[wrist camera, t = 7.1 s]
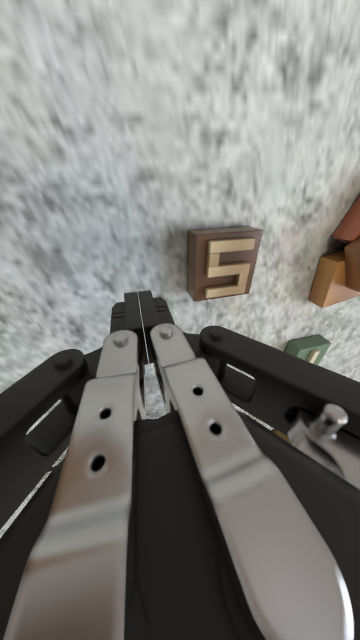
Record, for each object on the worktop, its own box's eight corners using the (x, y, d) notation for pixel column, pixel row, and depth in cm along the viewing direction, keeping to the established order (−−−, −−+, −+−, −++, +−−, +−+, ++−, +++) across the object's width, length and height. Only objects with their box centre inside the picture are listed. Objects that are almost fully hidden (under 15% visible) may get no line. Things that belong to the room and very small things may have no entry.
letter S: (187, 292, 19) (195, 304, 17) (187, 229, 16) (198, 235, 14) (238, 285, 21) (252, 296, 18) (248, 225, 17) (268, 230, 15)
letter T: (278, 366, 33) (289, 379, 30) (288, 340, 29) (302, 353, 27) (305, 359, 34) (318, 371, 32) (319, 334, 30) (335, 345, 28)
